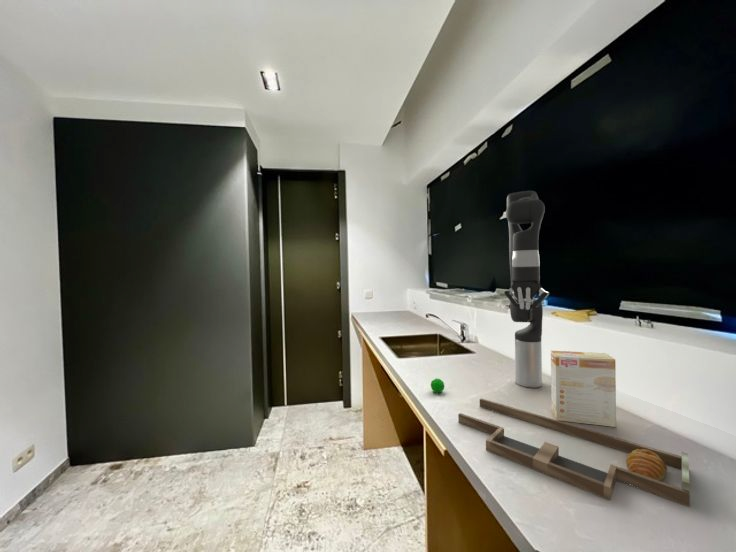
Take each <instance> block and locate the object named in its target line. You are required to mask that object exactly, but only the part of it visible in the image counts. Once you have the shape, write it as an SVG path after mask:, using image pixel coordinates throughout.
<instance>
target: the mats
mask: <svg viewBox="0 0 736 552" xmlns="http://www.w3.org/2000/svg"><path fill="white" fill-rule="evenodd" d="M498 443H500V444H503V445H506V446H508V447H511V448H514V449H516V450H519V451H522V452H524V453H527V454H529V455H532V456H535V455H536V453H537V452H538V451H539V449H540V448H539V447H537V446H533V445H530V444H528V443H525V442H522V441H519V440H516V439H513V438H511V437H508V436H506V435H504V436H503V438H502V439H501V440H500V441H499V442H498ZM554 464H556V465H559V466H561V467H564V468H566V469H569V470H572V471H574V472H577V473H580V474H582V475H585V476H588V477H590V478H593V479H595V480H598V481H601V482H603V483H605V480H606V477H607V474H608V472H606V471H603V470H600V469H599V468H598V469H597V468H595V467H592V466H589V465H586V464H583V463H580V462H578V461H576V460H572V459H569V458H567V457H564V456H561V455H559V456H558V457H557V459H556V461H555V462H554Z"/></svg>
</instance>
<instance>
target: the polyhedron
mask: <svg viewBox="0 0 736 552" xmlns="http://www.w3.org/2000/svg"><path fill="white" fill-rule="evenodd" d="M430 388H431V390H432V391H433V392H435V393H436V392H438V393H440V394H441V392H443V391H444V389H445V383H444V381H443V380H442V379H440V378H437V377H436V378H434V379H433V380H431V382H430Z"/></svg>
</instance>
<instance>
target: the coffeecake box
mask: <svg viewBox="0 0 736 552" xmlns="http://www.w3.org/2000/svg"><path fill="white" fill-rule="evenodd" d="M616 372H617V371H616V359H615V358H614V357H613V356H611V355H610V354H609V353H606V352H585V351H571V350H570V351H566V350H550V374H551V375H550V387H551V389H550V390H551V395H550V396H551V412H552V414H553V416H554V418H555V420H558V421H561V422H570V423H578V424H588V425H596V426H602V427H603V426H604V427H610V428H616V427H617V388H616V386H617V384H616V383H617V381H616V377H617V375H616Z"/></svg>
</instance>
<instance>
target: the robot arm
mask: <svg viewBox="0 0 736 552" xmlns="http://www.w3.org/2000/svg"><path fill="white" fill-rule="evenodd" d="M545 209H546V207H545V203H544V202H543V201H542V200H541V199H539V196H538V193H537V191H534V190H525V191H518V192H512V193H509V194H508V195H507V197H506V209H505V211H506V212H505V217H506V220H507V223H508V238H509V239H508V241H509V242H508V249H509V250H508V251H509V252H508V253H509V254H508V256H509V270H510V271H509V272H510V288H509V289H507V290H505V291H504V295H505V296H506V298H507V299H508V300H509V301H510V303H509V313H510V318H511V320H512V321H513V322H514V323H529V324H528V325H527V326H526V327H524V328H522V329H518V330H515V332H514V364H515V365H514V368H515V370H514V371H515V372H514V374H515V377H514V378H515V381H514V382H515V383H516V385H517V384H518V385H519V386H521V387H526V388H540V387H542V386H543V367H542V366H543V364H542V363H543V361H542V360H543V359H542V358H543V357H542V352H543V351H542V350H543V349H542V347H543V346H542V336H543V335H542V334H543V314H544V313H543V304H542V303H543V302H544V301H545V300H546V299H547V297H548V296H549V295H550V292H549V291H546V290H545V289H544V288H543V287H542V285H541V281H540V279H541V276H540V274H541V273H540V266H541V265H540V263H541V262H540V254H539V253H540V252H539V235H540V229H541V224H542V221H543V218H544V214H545V213H546V211H545ZM522 224H524V225H525V224H531V226H530V227H528V228H527V229H525V230H523V228H521V226H520V225H522ZM537 294H538V296H539V297H538V298H535V297H536V296H537Z"/></svg>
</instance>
